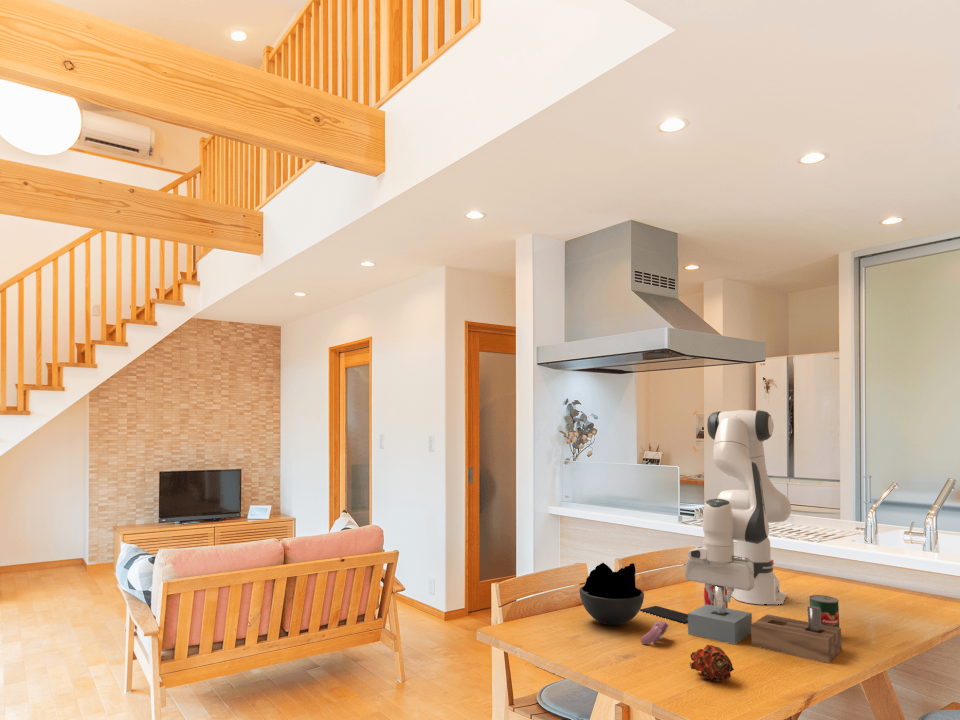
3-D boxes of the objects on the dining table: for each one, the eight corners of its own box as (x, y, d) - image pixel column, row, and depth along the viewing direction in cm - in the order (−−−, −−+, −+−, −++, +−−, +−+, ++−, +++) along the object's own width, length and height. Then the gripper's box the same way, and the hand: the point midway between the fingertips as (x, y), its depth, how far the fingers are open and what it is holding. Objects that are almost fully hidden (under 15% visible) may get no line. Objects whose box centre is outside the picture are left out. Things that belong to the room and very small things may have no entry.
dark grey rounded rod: (811, 649, 187) (809, 605, 189) (823, 652, 185) (821, 607, 187) (807, 652, 185) (806, 607, 186) (820, 655, 183) (818, 610, 184)
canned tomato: (830, 641, 195) (828, 603, 196) (804, 634, 201) (803, 597, 202) (845, 637, 199) (844, 599, 200) (820, 630, 205) (818, 593, 207)
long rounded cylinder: (717, 631, 203) (715, 577, 205) (727, 633, 201) (726, 578, 202) (712, 633, 201) (711, 578, 202) (723, 635, 198) (722, 580, 200)
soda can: (702, 622, 212) (702, 583, 213) (706, 616, 218) (705, 579, 220) (726, 625, 209) (725, 586, 210) (729, 620, 215) (728, 581, 216)
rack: (768, 634, 200) (767, 614, 201) (841, 650, 187) (840, 628, 188) (751, 646, 190) (751, 624, 190) (828, 663, 177) (827, 639, 177)
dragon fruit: (731, 695, 159) (693, 685, 169) (747, 667, 163) (710, 660, 173) (712, 667, 158) (675, 659, 168) (729, 640, 162) (692, 634, 172)
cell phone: (684, 625, 210) (684, 622, 210) (639, 612, 224) (639, 609, 224) (701, 620, 215) (701, 617, 216) (655, 608, 230) (655, 605, 230)
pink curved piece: (652, 652, 188) (663, 631, 187) (638, 642, 190) (649, 621, 189) (662, 643, 196) (673, 622, 195) (649, 633, 199) (659, 613, 198)
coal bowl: (571, 627, 205) (571, 565, 206) (589, 611, 223) (589, 554, 224) (636, 637, 196) (636, 572, 198) (650, 620, 214) (649, 560, 216)
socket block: (706, 623, 211) (706, 604, 211) (752, 633, 201) (751, 612, 202) (688, 633, 200) (687, 613, 201) (734, 644, 191) (734, 622, 192)
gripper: (757, 557, 199) (758, 604, 197) (691, 548, 212) (692, 592, 211) (749, 560, 194) (750, 609, 193) (682, 550, 207) (683, 596, 206)
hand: (719, 600), depth 202 cm, fingers closed on long rounded cylinder, 3 cm apart
